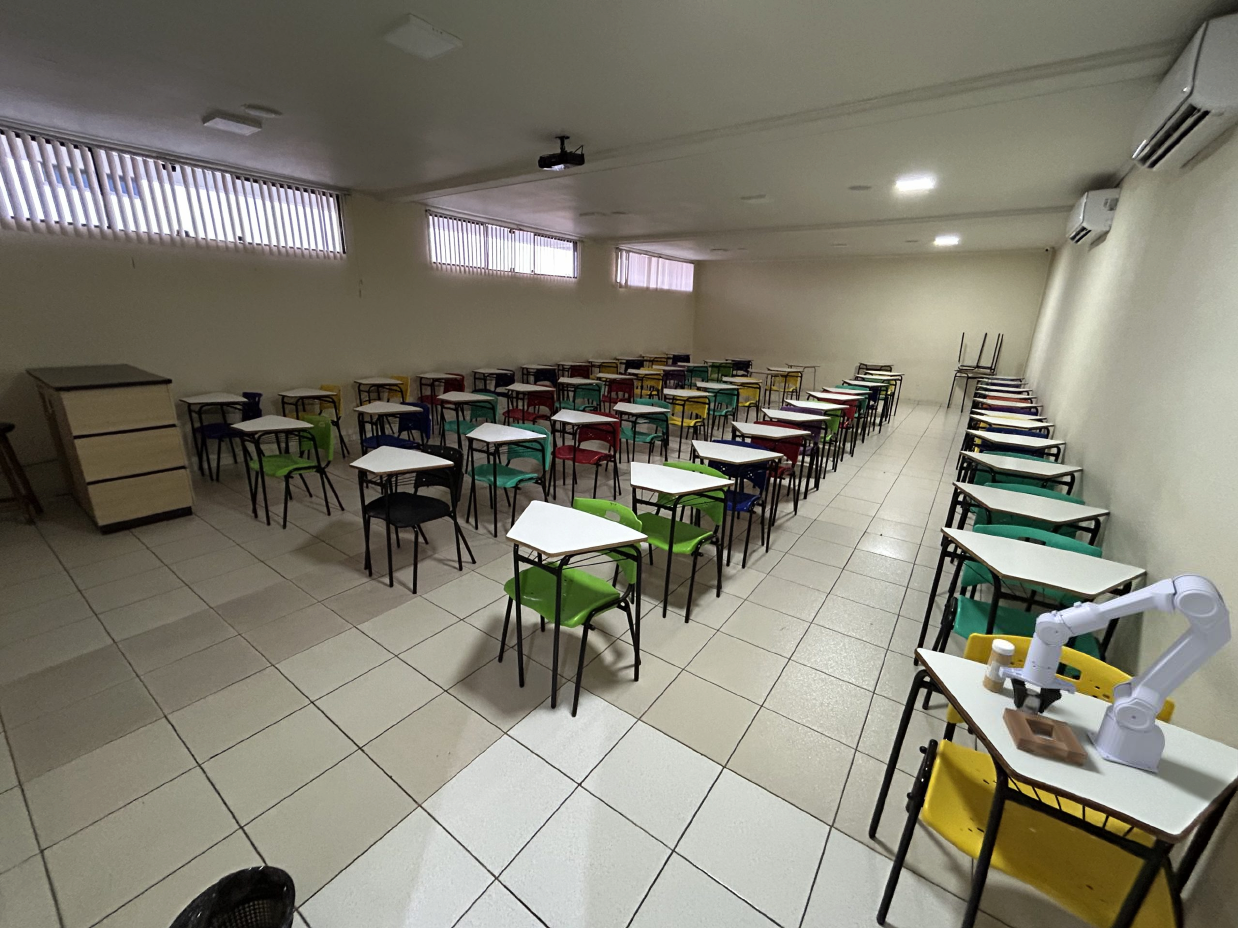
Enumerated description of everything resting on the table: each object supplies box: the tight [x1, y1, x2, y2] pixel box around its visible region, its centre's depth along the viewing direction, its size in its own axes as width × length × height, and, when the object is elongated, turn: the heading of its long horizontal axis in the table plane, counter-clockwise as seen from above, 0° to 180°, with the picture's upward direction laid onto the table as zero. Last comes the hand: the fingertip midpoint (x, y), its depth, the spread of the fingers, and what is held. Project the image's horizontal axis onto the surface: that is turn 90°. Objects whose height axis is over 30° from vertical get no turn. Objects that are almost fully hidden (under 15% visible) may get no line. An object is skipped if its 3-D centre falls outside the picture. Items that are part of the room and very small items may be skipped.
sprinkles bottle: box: [982, 638, 1016, 693], centre depth 131 cm, size 5×5×14 cm
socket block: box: [1002, 707, 1088, 767], centre depth 115 cm, size 12×10×3 cm
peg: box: [1015, 687, 1043, 716], centre depth 123 cm, size 4×4×6 cm
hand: (1027, 708), depth 123 cm, fingers closed on peg, 4 cm apart
